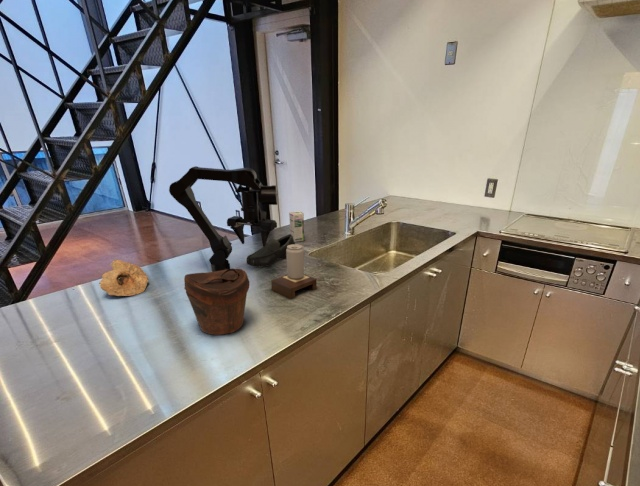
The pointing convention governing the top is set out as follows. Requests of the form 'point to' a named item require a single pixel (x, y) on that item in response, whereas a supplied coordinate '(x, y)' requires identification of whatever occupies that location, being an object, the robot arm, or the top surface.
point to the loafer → (270, 252)
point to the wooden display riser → (292, 285)
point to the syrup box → (297, 225)
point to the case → (218, 299)
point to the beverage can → (295, 261)
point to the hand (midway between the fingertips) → (253, 245)
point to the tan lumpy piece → (124, 279)
